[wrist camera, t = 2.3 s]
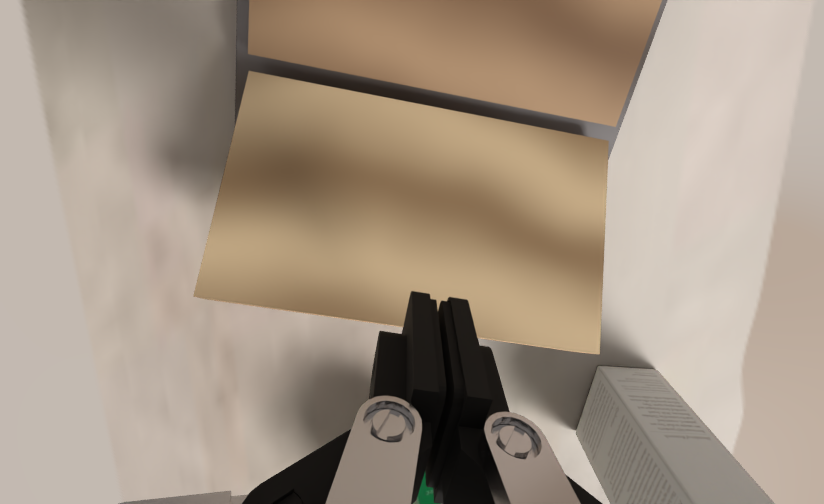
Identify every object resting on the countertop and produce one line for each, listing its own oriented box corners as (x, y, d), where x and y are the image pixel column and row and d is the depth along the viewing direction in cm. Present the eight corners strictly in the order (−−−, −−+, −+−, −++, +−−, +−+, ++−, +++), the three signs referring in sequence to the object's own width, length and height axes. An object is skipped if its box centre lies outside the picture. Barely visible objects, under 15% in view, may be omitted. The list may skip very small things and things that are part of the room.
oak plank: (580, 352, 18) (599, 354, 17) (207, 299, 17) (193, 296, 15) (590, 154, 20) (608, 140, 19) (257, 91, 19) (248, 70, 17)
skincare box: (631, 434, 29) (767, 651, 18) (573, 431, 29) (676, 649, 18) (660, 366, 27) (836, 567, 16) (596, 362, 27) (732, 563, 16)
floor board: (538, 324, 26) (552, 349, 23) (238, 279, 24) (221, 302, 22) (680, -68, 18) (721, -89, 15) (249, -175, 16) (223, -216, 14)
